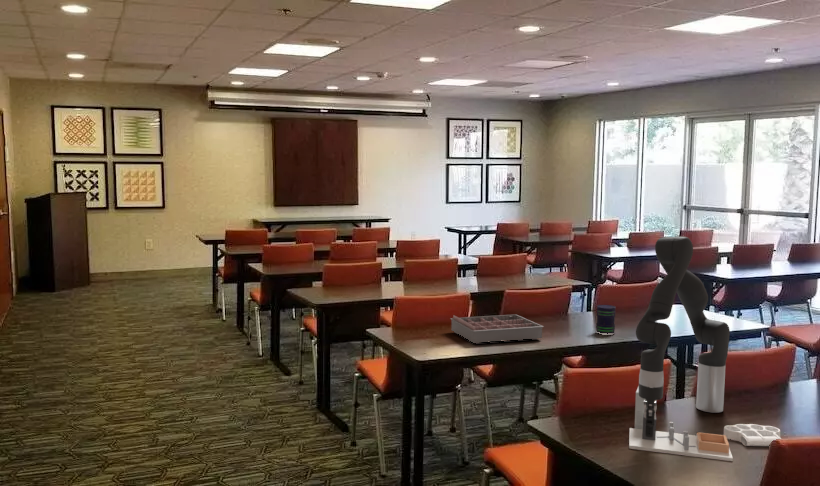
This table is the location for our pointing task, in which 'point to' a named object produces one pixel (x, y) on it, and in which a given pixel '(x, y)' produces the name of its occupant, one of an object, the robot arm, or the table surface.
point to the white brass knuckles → (752, 434)
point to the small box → (639, 410)
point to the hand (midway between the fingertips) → (648, 433)
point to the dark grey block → (645, 429)
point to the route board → (673, 444)
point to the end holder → (709, 444)
